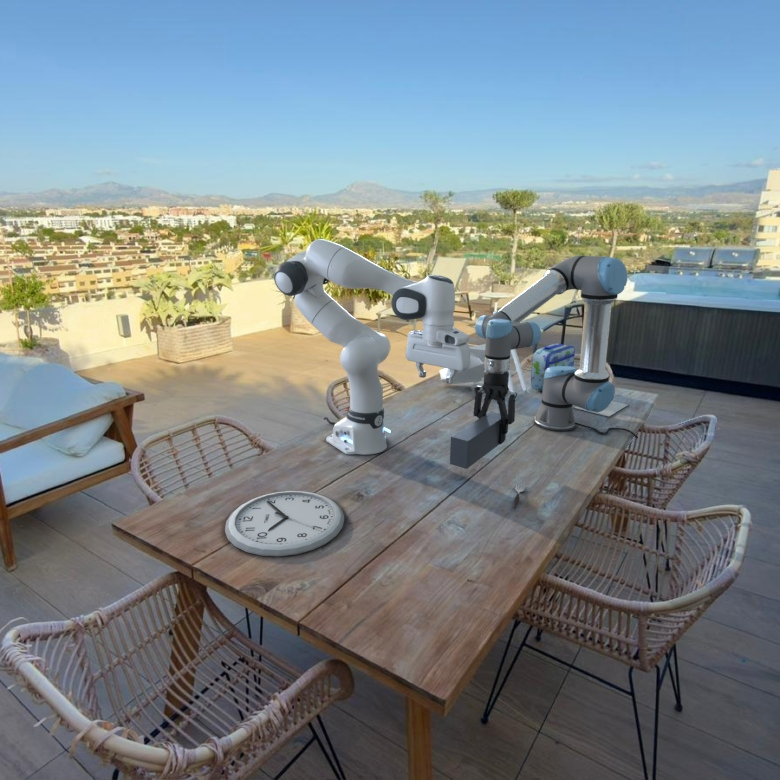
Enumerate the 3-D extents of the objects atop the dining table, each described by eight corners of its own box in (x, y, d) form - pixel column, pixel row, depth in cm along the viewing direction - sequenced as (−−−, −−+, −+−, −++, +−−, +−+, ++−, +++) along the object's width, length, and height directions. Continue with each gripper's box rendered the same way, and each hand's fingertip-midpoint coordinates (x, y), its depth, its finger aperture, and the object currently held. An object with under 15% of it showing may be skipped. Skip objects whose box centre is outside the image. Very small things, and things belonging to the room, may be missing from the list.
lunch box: (547, 395, 239) (552, 351, 233) (526, 390, 247) (530, 347, 240) (574, 384, 257) (579, 343, 251) (554, 380, 264) (558, 339, 258)
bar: (489, 436, 172) (491, 411, 169) (505, 440, 168) (507, 414, 166) (449, 463, 152) (450, 436, 150) (466, 469, 149) (468, 441, 146)
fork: (509, 509, 142) (509, 503, 141) (516, 484, 156) (517, 477, 156) (519, 511, 141) (519, 504, 140) (525, 485, 155) (526, 479, 155)
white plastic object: (461, 429, 252) (437, 405, 227) (444, 352, 274) (420, 323, 250) (535, 404, 240) (518, 377, 215) (510, 326, 262) (492, 293, 237)
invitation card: (608, 416, 214) (573, 407, 224) (608, 416, 214) (573, 408, 224) (628, 404, 229) (594, 396, 238) (628, 405, 229) (594, 397, 238)
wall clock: (344, 547, 121) (211, 552, 118) (344, 554, 121) (212, 558, 119) (344, 486, 149) (237, 489, 147) (344, 491, 150) (237, 494, 147)
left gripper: (401, 330, 153) (400, 375, 157) (463, 340, 141) (460, 389, 145) (414, 327, 158) (412, 371, 162) (474, 336, 146) (471, 384, 150)
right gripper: (463, 368, 162) (460, 437, 170) (520, 378, 152) (514, 451, 159) (475, 363, 168) (471, 430, 175) (530, 372, 157) (524, 443, 165)
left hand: (435, 380), depth 154 cm, fingers open, 8 cm apart
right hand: (492, 440), depth 167 cm, fingers closed on bar, 6 cm apart
